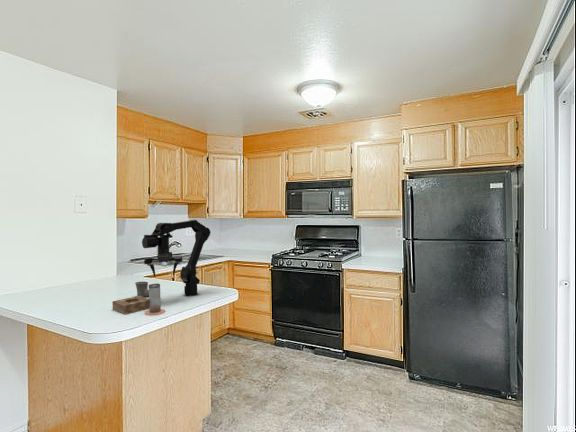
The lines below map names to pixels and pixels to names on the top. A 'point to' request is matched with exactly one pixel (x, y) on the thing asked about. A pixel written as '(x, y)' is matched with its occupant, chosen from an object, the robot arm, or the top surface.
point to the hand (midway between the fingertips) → (164, 276)
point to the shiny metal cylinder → (154, 298)
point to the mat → (155, 313)
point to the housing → (131, 304)
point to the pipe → (142, 289)
